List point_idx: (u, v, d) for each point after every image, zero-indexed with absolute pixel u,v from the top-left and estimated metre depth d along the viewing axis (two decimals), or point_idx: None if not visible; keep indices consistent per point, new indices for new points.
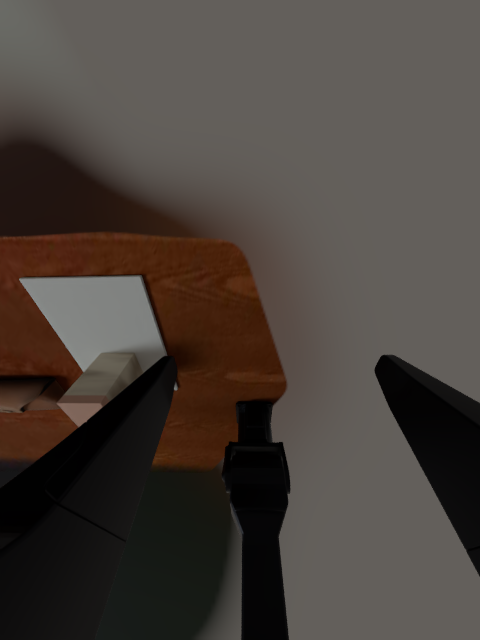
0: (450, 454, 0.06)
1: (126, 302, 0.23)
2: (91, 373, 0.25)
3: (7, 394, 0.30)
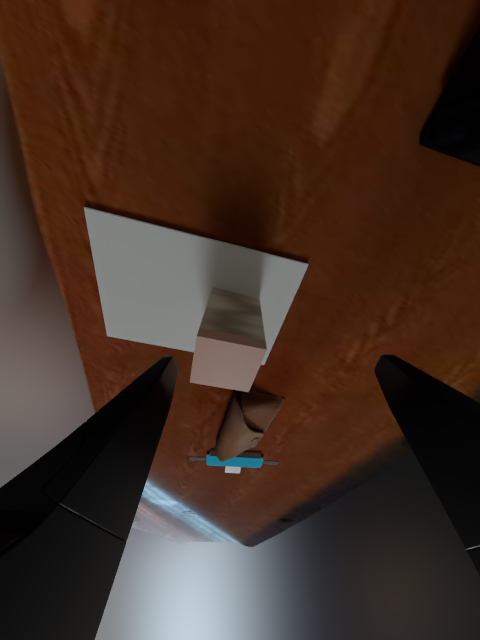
0: (450, 454, 0.06)
1: (126, 249, 0.18)
2: None
3: (231, 425, 0.30)
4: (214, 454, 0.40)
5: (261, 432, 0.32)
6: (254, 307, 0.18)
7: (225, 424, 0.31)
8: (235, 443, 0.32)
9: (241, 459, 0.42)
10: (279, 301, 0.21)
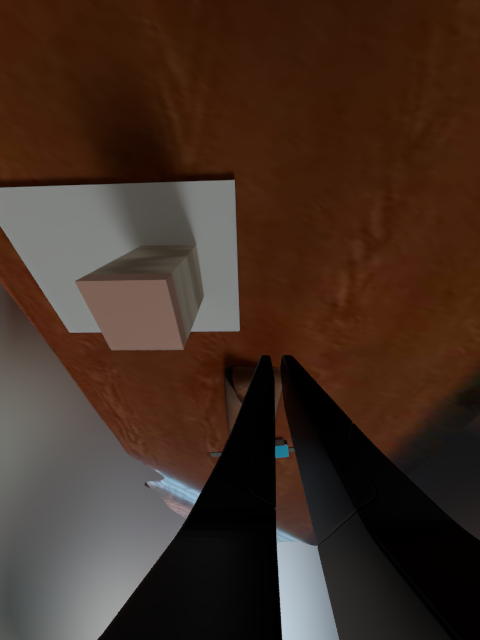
0: (306, 452, 0.06)
1: (37, 225, 0.16)
2: None
3: (231, 409, 0.26)
4: None
5: None
6: (182, 252, 0.15)
7: None
8: None
9: None
10: (221, 242, 0.17)
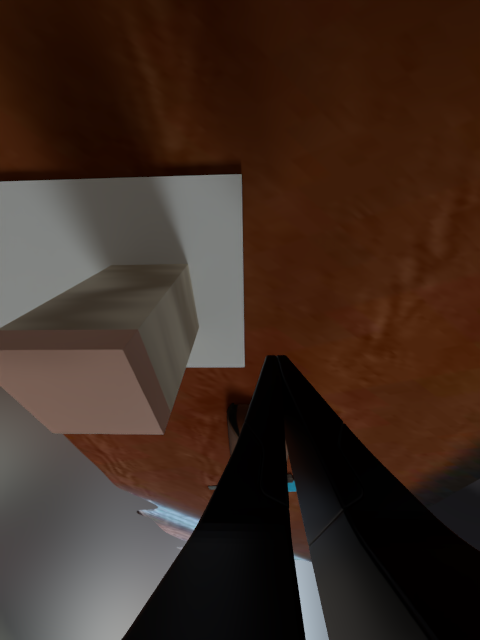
0: (298, 452, 0.06)
1: None
2: None
3: None
4: None
5: None
6: (165, 278, 0.10)
7: (230, 452, 0.24)
8: None
9: None
10: (222, 261, 0.12)
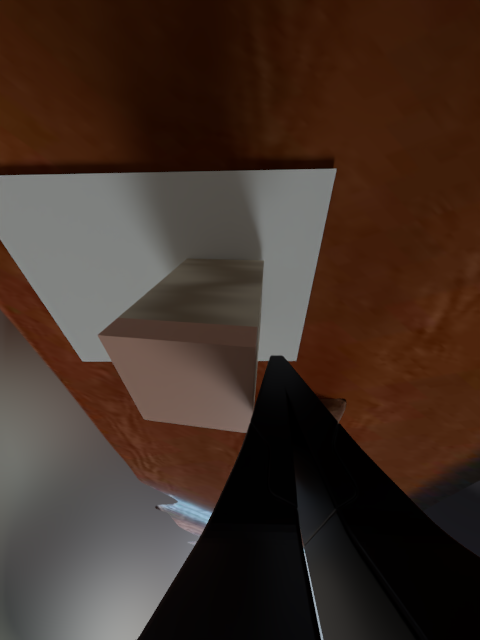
0: (293, 452, 0.06)
1: (46, 230, 0.12)
2: None
3: None
4: None
5: None
6: (250, 274, 0.10)
7: None
8: None
9: None
10: (297, 255, 0.12)
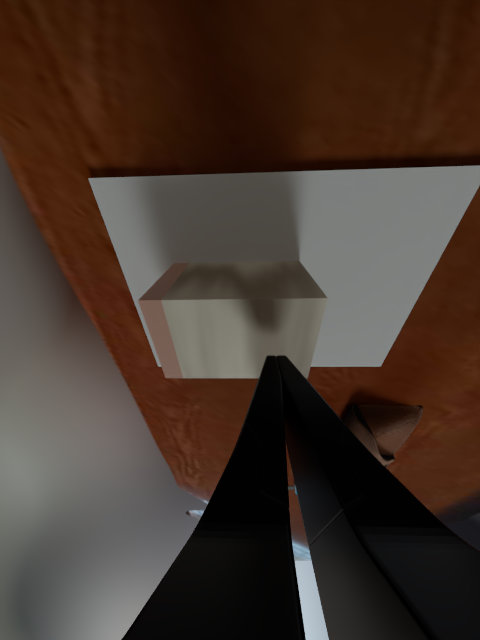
0: (298, 452, 0.06)
1: (162, 233, 0.11)
2: None
3: None
4: None
5: (393, 458, 0.23)
6: (268, 291, 0.09)
7: None
8: None
9: None
10: (418, 257, 0.12)
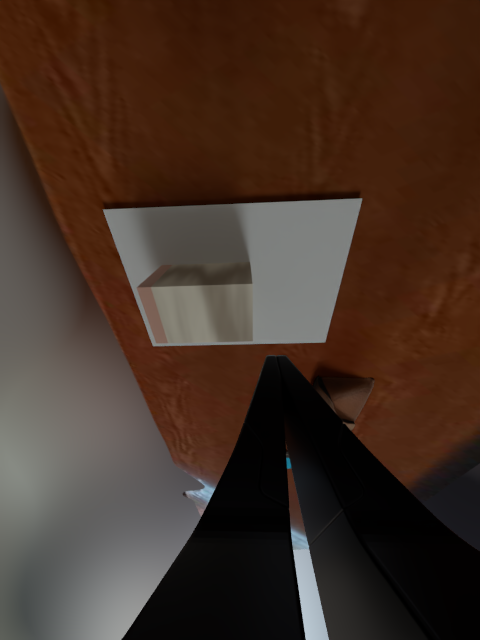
0: (298, 452, 0.06)
1: (152, 244, 0.17)
2: None
3: None
4: None
5: (352, 423, 0.27)
6: (218, 281, 0.14)
7: None
8: None
9: None
10: (331, 258, 0.17)
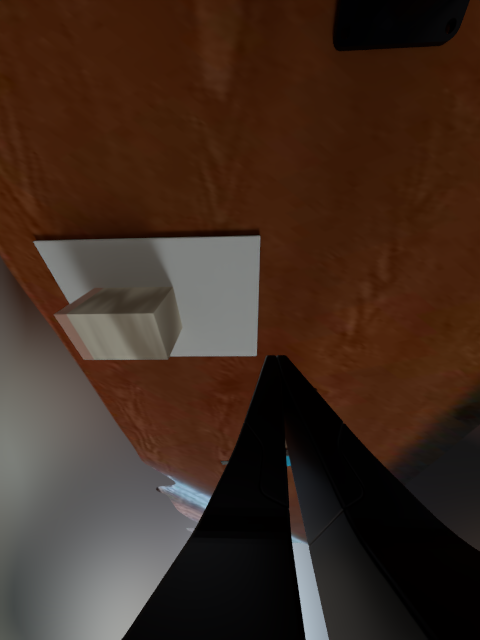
0: (298, 452, 0.06)
1: (82, 270, 0.19)
2: None
3: None
4: None
5: None
6: (127, 309, 0.16)
7: None
8: None
9: None
10: (245, 284, 0.19)
